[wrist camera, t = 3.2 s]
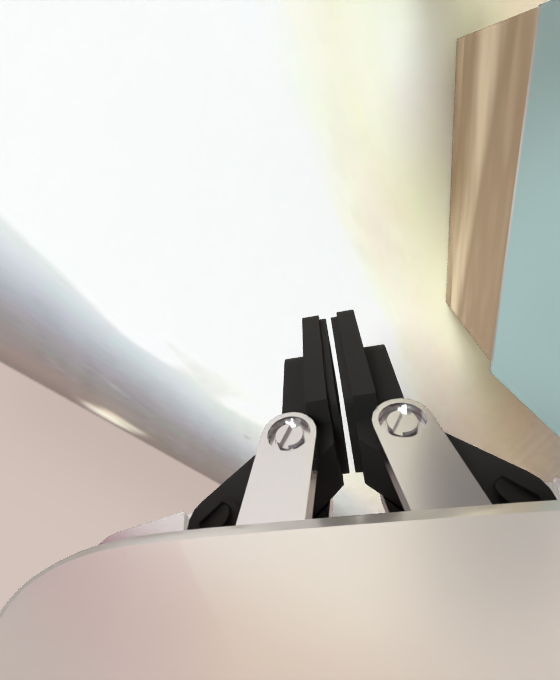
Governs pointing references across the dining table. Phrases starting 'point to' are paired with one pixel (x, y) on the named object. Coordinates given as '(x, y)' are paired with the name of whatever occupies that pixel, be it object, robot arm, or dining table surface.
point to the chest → (485, 166)
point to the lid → (535, 241)
